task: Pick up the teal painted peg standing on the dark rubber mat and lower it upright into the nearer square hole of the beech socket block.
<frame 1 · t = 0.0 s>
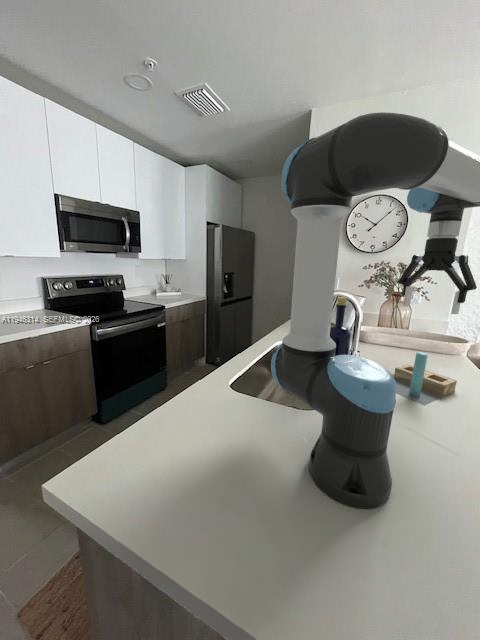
hand: (428, 309, 84), 28 cm above the countertop, fingers open, 13 cm apart
mat: (411, 387, 94), on the countertop
peg: (414, 395, 87), resting on mat
bottle: (332, 381, 97), on the countertop
block: (422, 384, 95), resting on mat
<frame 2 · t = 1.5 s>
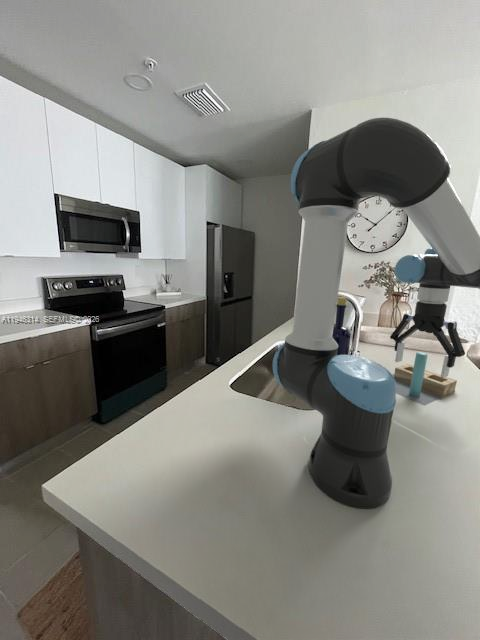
hand: (419, 368, 86), 10 cm above the countertop, fingers open, 13 cm apart
nothing on the countertop moved.
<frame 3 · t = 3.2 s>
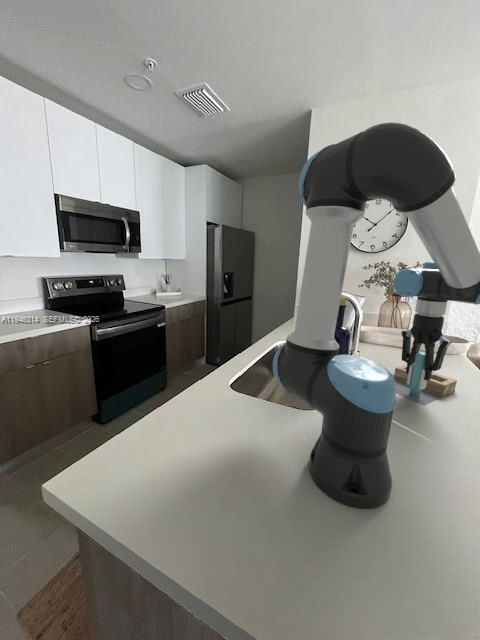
hand: (416, 386, 87), 4 cm above the countertop, fingers closed on peg, 3 cm apart
peg: (414, 395, 87), resting on mat, touching gripper
everything else where it was.
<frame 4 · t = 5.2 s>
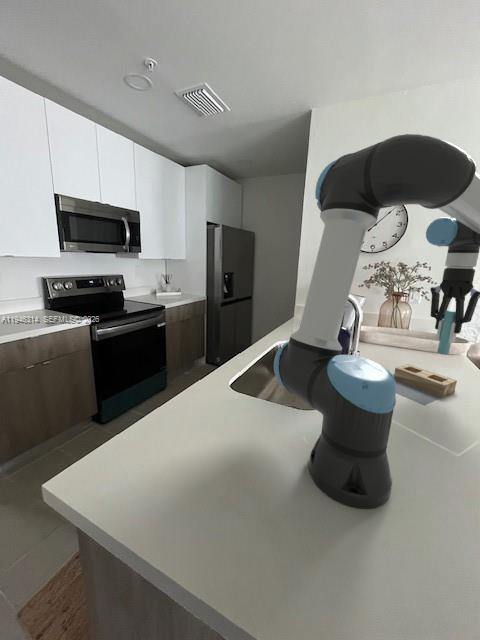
hand: (445, 340, 88), 17 cm above the countertop, fingers closed on peg, 3 cm apart
peg: (442, 352, 89), point 13 cm above the countertop, touching gripper
everything else where it was.
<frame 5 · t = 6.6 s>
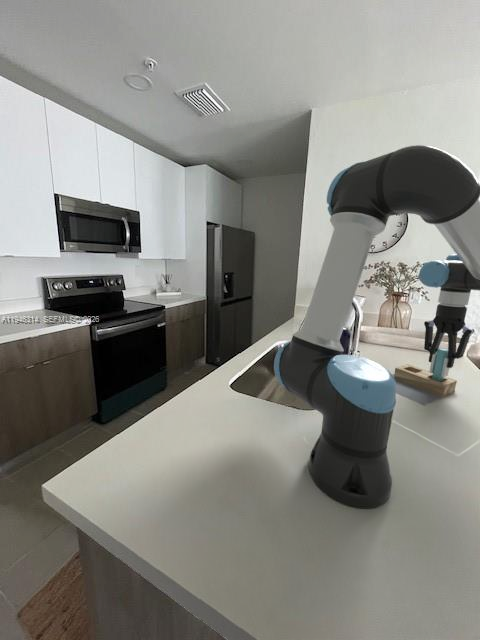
hand: (438, 373, 91), 6 cm above the countertop, fingers closed on peg, 3 cm apart
peg: (435, 389, 92), resting on mat, touching gripper
everything else where it was.
when the fingers open (6 cm above the countertop, at t = 7.2 s): peg stays where it is, resting on mat.
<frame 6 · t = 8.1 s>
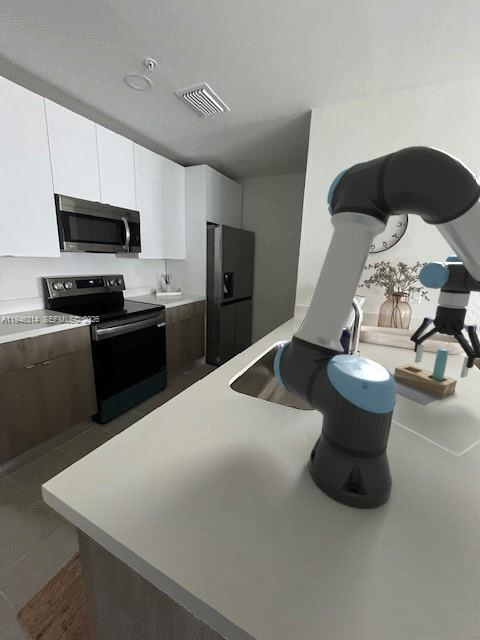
hand: (439, 369, 90), 8 cm above the countertop, fingers open, 13 cm apart
peg: (435, 389, 92), resting on mat
everything else where it was.
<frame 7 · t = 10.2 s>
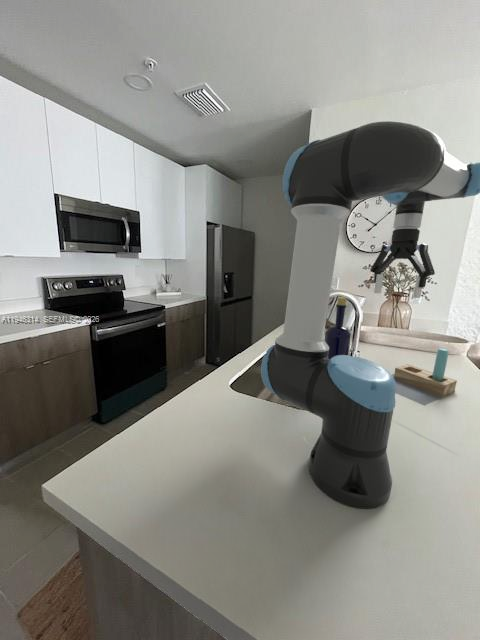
hand: (395, 295, 92), 31 cm above the countertop, fingers open, 13 cm apart
nothing on the countertop moved.
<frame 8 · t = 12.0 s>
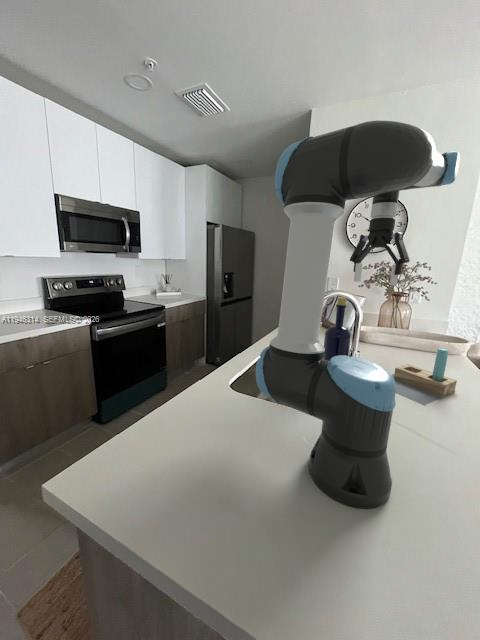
hand: (373, 283, 94), 35 cm above the countertop, fingers open, 13 cm apart
nothing on the countertop moved.
at the end: peg 0.1 cm from the target spot on the block, point 0.0 cm above the block's base; peg tilted 0°; the gripper is holding nothing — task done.
